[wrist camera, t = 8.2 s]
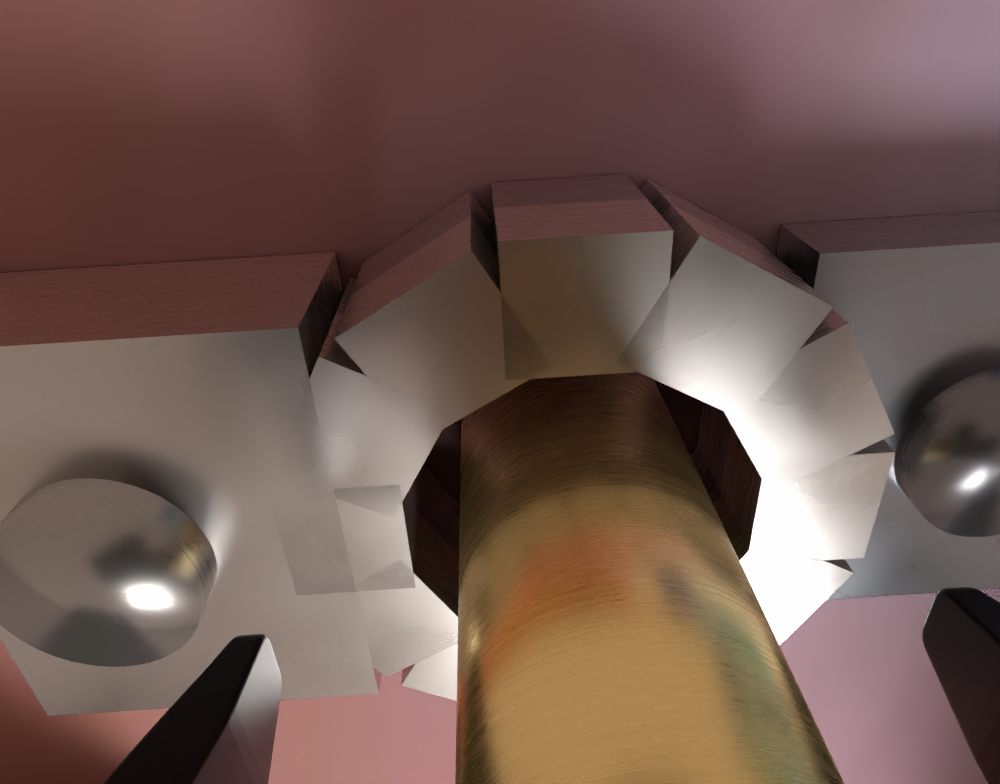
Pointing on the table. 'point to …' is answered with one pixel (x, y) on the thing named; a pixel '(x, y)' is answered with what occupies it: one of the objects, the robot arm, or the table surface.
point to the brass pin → (610, 606)
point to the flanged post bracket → (455, 394)
